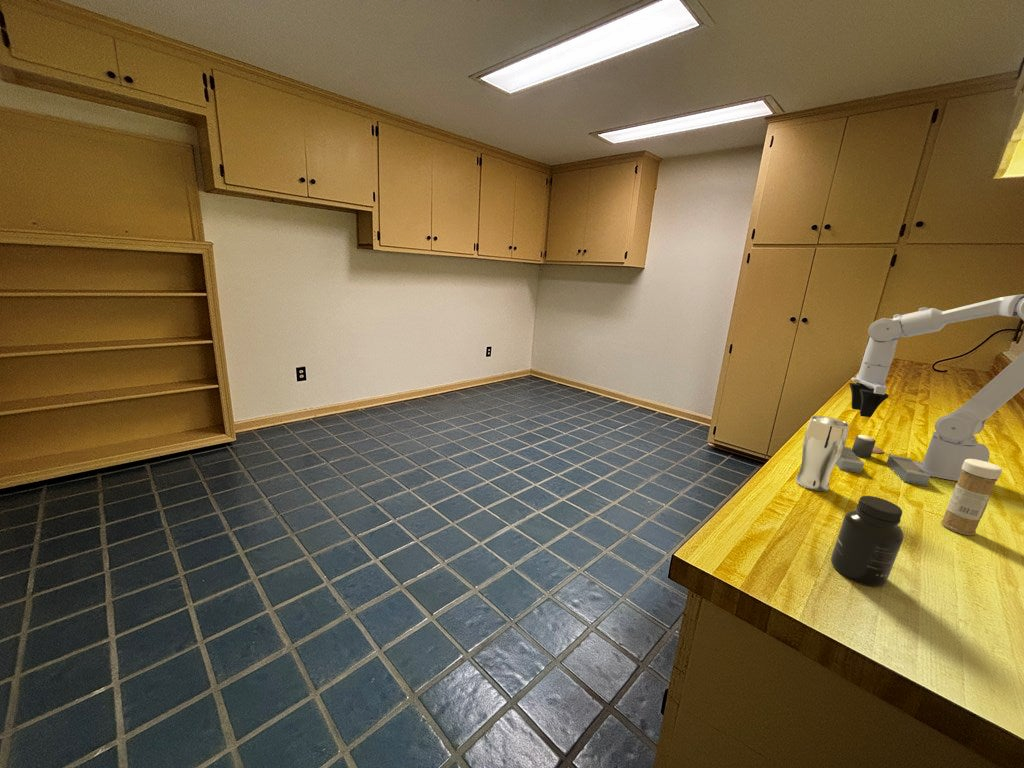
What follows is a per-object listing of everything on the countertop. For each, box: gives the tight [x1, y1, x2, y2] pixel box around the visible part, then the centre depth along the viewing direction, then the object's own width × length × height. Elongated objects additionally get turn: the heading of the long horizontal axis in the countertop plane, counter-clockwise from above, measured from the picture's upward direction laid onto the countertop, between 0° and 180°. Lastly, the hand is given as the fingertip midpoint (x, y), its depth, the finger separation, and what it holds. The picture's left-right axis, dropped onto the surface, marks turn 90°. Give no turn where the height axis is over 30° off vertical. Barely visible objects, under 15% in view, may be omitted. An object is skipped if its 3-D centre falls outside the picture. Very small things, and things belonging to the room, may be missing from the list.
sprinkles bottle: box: [940, 459, 1003, 536], centre depth 74 cm, size 5×5×14 cm
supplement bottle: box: [830, 495, 905, 587], centre depth 61 cm, size 7×7×12 cm
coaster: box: [872, 445, 883, 454], centre depth 112 cm, size 6×6×1 cm
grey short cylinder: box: [851, 434, 877, 459], centre depth 107 cm, size 4×4×5 cm
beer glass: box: [794, 415, 850, 493], centre depth 88 cm, size 7×7×15 cm
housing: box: [835, 446, 932, 488], centre depth 99 cm, size 16×10×3 cm, turn 67°
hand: (860, 412), depth 111 cm, fingers open, 6 cm apart
